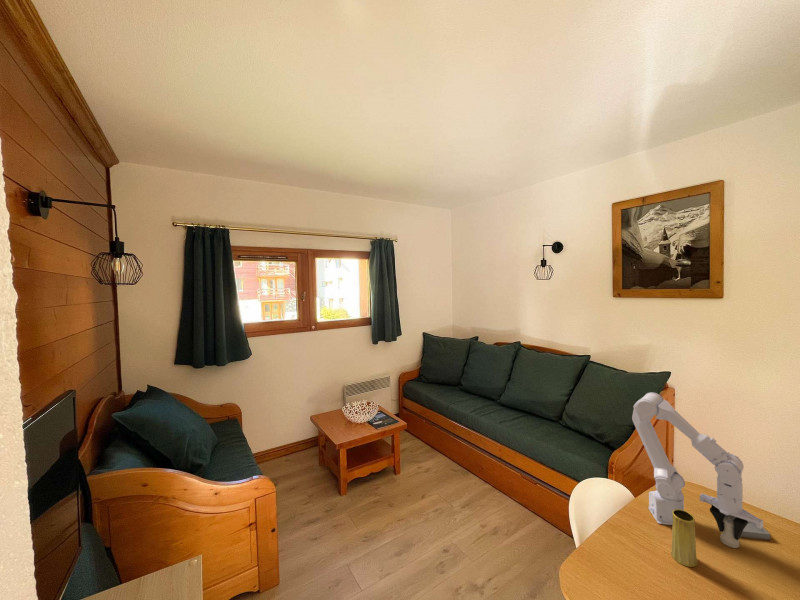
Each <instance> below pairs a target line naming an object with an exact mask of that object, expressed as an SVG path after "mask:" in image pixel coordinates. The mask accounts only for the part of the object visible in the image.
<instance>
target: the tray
mask: <svg viewBox="0 0 800 600" xmlns="http://www.w3.org/2000/svg"><path fill="white" fill-rule="evenodd" d="M725 517H727V518H728V517H730V519H735V518H737V517H735V516H732V515H725ZM742 537H743V538H749V539H755V540H757V539H758V540H765V541H771V534H770V532H769V531H767V529H766V528H764V526H763V527H762V528H761V529H759V528H757V527H756V525H754V524H751V523H748V524H747V525H746V527H745V528H744V530H743V532H742V534H741V538H742Z"/></svg>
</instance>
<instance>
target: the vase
mask: <svg viewBox="0 0 800 600" xmlns="http://www.w3.org/2000/svg"><path fill="white" fill-rule="evenodd" d="M672 513H673V525H671V526H672V527H671V528H672V529H671V530H672V531H671V553H670V555H671V557H672V558H673V560H675V561H676V562H677V563H679V564H681V565H683V566H685V567H689V568H690V567H691V568H694V567H696V566H697V565H698V561H697V544H696V527H695V523H696V521H695V520H696V519H695V516H693V514H692V513H690V512H689V511H686V510H685V509H684V510H680V509H675V510H673V511H672Z"/></svg>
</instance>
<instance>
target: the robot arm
mask: <svg viewBox="0 0 800 600" xmlns="http://www.w3.org/2000/svg"><path fill="white" fill-rule="evenodd" d="M632 408H633V411H632V417H631V419H632V423H633V425H634V427H635V429H636V431H637V433H638V435H639V437H640V440H641V442H642V445H643V447H644V449H645V451H646V453H647V456H648V458H649V460H650V462H651V464H652V467H653V478H654V481H655V490H652V491H651V490H650V491H649V492H648V507H647V508H648V510H649V512H650V513H651V515H652V516H653V519H655V521H656V522H657V523H658V524H661V525H670V526H673V513H672V511H673V510H675V509H680V510H684V511H685V501H684V500H685V495H684V494H683V491H682V489H683V488H684V487H685V485H686V482H685V479H684V478H683V476H682V475H681V474H680V473H679V472H678V471H677V468H676V467H675V466H673V465H672V464H671V462H670V460H669V458H668V456H667V454H666V452H665V449H664V446H663V445H662V443H661V441H660V439H659V436H658V434H657V432H656V430H655V428H654V425H653V423H652V421H651V420H652V419H653V418H654V417H655V419H656V420H661V421H662V420H663V421H667V422H669V423H670V424H671V425H673V426H674V427H675V428H676V429H677V430H678V431H680V432H681V433H682V434H684V436H686V437H687V439H690V441H691V446H692V447H693V448H694V449H696V450H697V452H699V454H701V455H702V456H703V457H704V458H705V459H706V460H708V461H709V462H710V463H711V464H712V465H713V466H714V470H715V472H716V473H717V477H716V497H714V496H710V495H708V494H705V493H701V494H700V495H699V501H700V502H702V503H704V502H705V503H706V504H708V505H711V507H709V512H710V513H711V514H712V516H713V518H714V520H715V522H716V524H717V525H716V526H717V527H718V531H719V532H721V533H723V532H724V524H725V523H724V522H723V519H724V518H725V515H732V516H735V517H737V518H735V519H734V520H733V524H734V529H735V533H734V537H735V539H736V540H740V539H741V538H742V537H741V534H742V532H743V530H744V528H745V527H746V525H747V524H748V523H751V524H754V525H756V527H757V528H759V529H761V528H762V527H763V528H764V519H761V518H760V517H757V516H755V515H754V514H752V513H751V512H748V511H747V510H746V509H744V508H743V496H744V495H743V491H744V490H743V475H742V474H743V472H744V463H743V461H742V460H741V459H740V458H739V456H737V455H735V454H733V453H730V452H727V451H726V450H725V449H724V448H723V447H722V446H720V445H719V444H718V443H717V440H716V439H715V437H710V436H709V435H707V434H703V433H700V432H699V430H697V429H696V428H695V427H693V425H692V424H690V422H688V420H686V419H685V417H683V416H682V415H681V414H680V413H679V412H678V411H677V410H676V409H675V408H674V407H673V406H672V405H671V403H670V402H669V401H667V400H666V399H664V397H663V396H661V395H660V394H658V393H657V392H647V393H645V394H644V396H643V397H640V399H638V400H637V401H636V402H635V403H634V405H633V407H632Z"/></svg>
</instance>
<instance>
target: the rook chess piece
mask: <svg viewBox="0 0 800 600" xmlns="http://www.w3.org/2000/svg"><path fill="white" fill-rule="evenodd" d="M733 520H734V519H730V517H728V518H727V517H725V518H724V519H723V522H724V523H725V524H724V531H723V532H721V534H720V537H719V539H720V541H721V542H722V543H723V544H724V545H725V546H727V547H730V548H733V549H737V548H740V547H741V545H740V541H739V540H740V539H739V540H736V539H735V537H734V533H735V529H734V524H733Z"/></svg>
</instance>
